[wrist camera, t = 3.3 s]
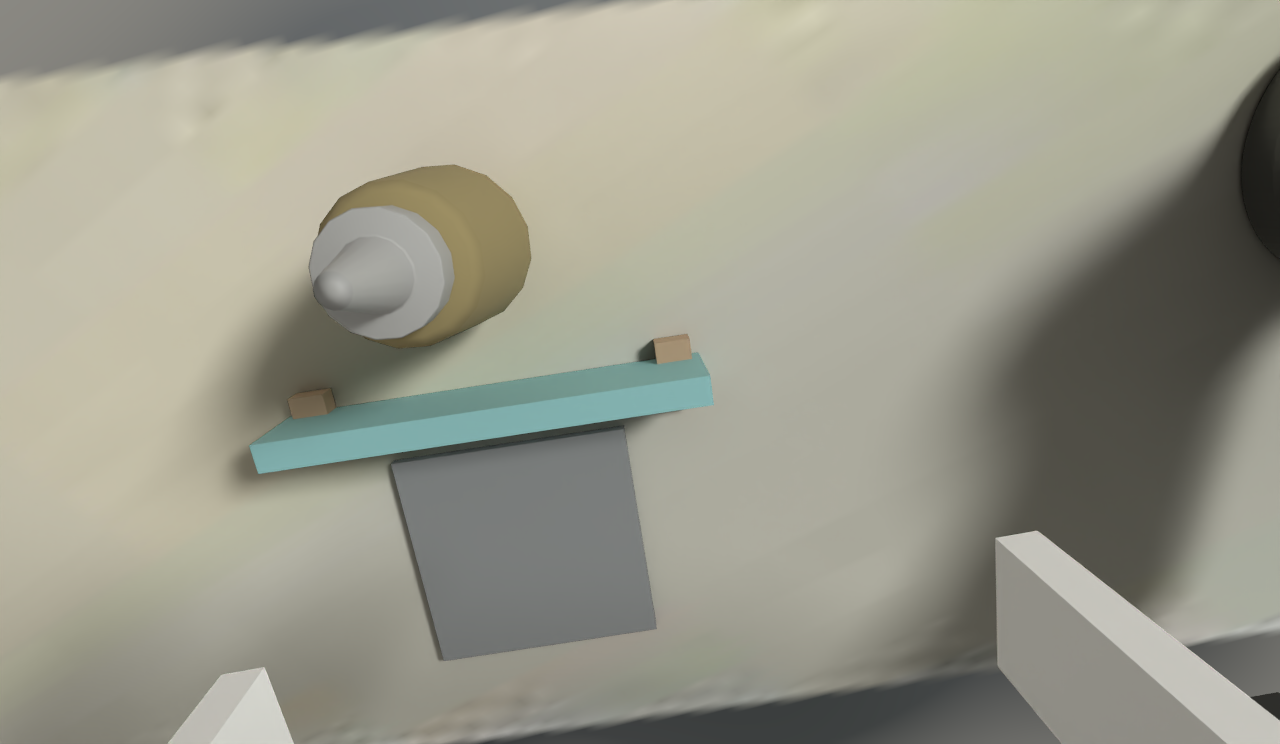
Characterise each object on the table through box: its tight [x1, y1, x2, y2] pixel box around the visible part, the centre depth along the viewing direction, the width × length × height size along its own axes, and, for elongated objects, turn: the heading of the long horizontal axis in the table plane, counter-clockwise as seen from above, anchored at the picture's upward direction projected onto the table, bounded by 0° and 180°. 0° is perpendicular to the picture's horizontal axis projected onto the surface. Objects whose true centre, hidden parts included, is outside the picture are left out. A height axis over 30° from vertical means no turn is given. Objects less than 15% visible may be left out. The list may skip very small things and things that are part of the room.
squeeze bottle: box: [309, 165, 531, 348], centre depth 28 cm, size 8×8×18 cm
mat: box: [391, 426, 656, 661], centre depth 41 cm, size 14×14×1 cm
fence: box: [249, 334, 714, 474], centre depth 37 cm, size 4×24×5 cm, turn 98°
